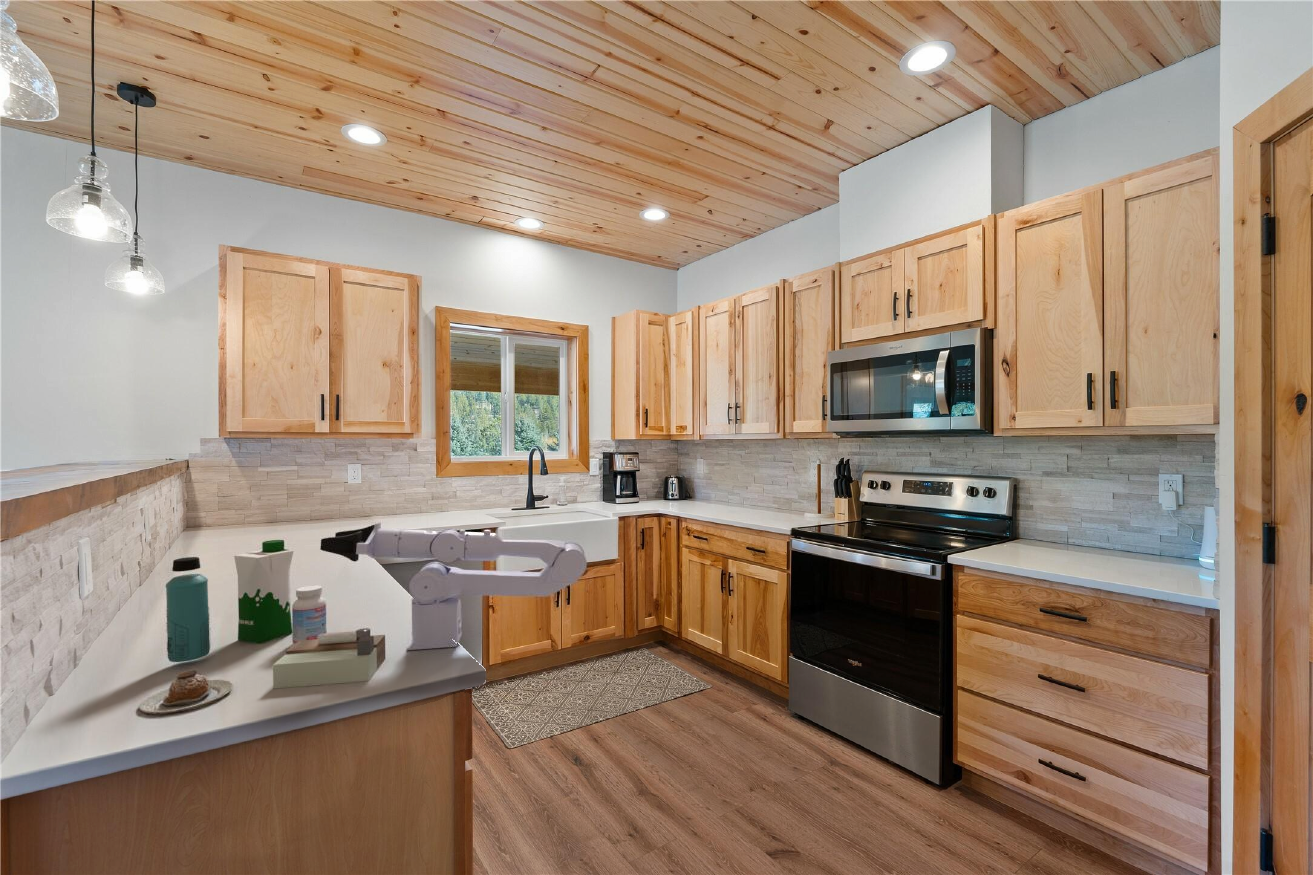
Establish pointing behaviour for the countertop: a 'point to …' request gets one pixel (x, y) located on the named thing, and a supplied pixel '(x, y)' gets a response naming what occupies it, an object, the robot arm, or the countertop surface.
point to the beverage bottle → (187, 613)
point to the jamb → (337, 647)
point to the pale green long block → (327, 666)
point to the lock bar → (342, 636)
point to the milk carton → (264, 593)
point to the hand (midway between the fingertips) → (328, 540)
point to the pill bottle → (308, 614)
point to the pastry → (186, 693)
